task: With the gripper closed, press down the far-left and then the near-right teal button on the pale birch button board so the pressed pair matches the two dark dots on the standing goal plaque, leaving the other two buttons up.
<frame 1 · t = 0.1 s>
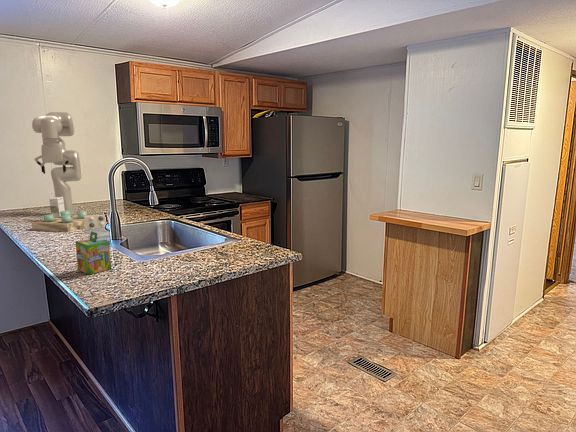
hand: (54, 173, 226), 31 cm above the worktop, tool pointing down, fingers open, 9 cm apart
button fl: (66, 219, 227), point 6 cm above the worktop, slide at 0.0 cm
goal plaque: (97, 227, 231), on the worktop
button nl: (82, 215, 238), point 5 cm above the worktop, slide at 0.0 cm
chalk box: (95, 270, 156), on the worktop
syrup box: (58, 220, 253), on the worktop
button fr: (48, 218, 230), point 6 cm above the worktop, slide at 0.0 cm
board: (66, 226, 235), on the worktop
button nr: (65, 214, 241), point 6 cm above the worktop, slide at 0.0 cm
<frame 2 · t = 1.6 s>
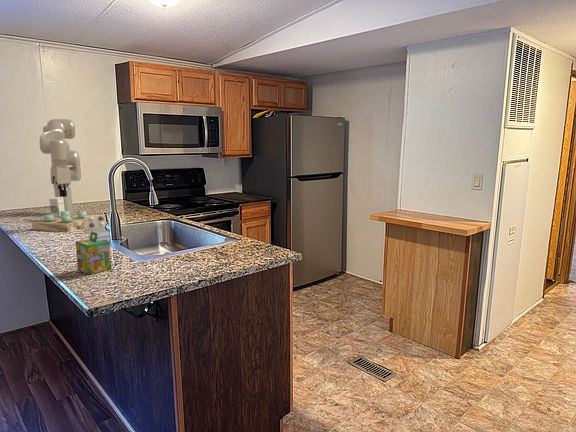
hand: (63, 196, 224), 18 cm above the worktop, tool pointing down, fingers closed
nothing on the worktop moved.
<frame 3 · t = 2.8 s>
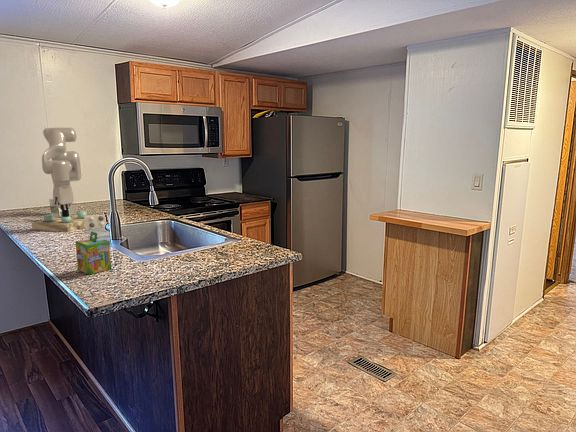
hand: (65, 216, 226), 7 cm above the worktop, tool pointing down, fingers closed
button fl: (66, 220, 227), point 5 cm above the worktop, slide at 0.3 cm, touching gripper
everything else where it was.
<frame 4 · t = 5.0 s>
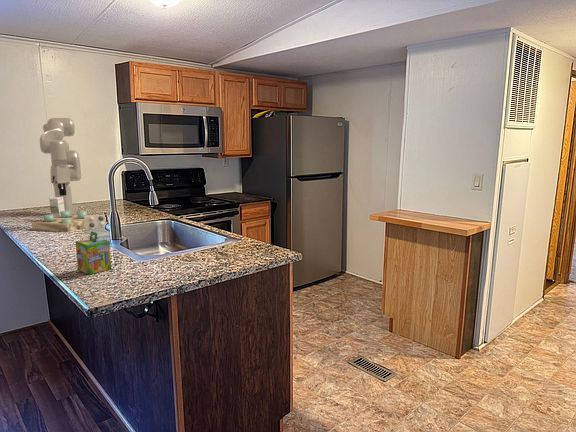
hand: (63, 195, 231), 18 cm above the worktop, tool pointing down, fingers closed
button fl: (66, 223, 227), point 3 cm above the worktop, slide at 2.2 cm
everything else where it was.
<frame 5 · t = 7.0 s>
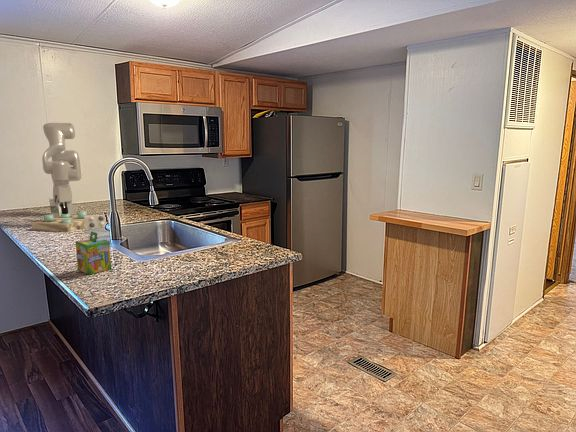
hand: (65, 213, 241), 6 cm above the worktop, tool pointing down, fingers closed
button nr: (65, 217, 242), point 4 cm above the worktop, slide at 1.4 cm, touching gripper
everything else where it was.
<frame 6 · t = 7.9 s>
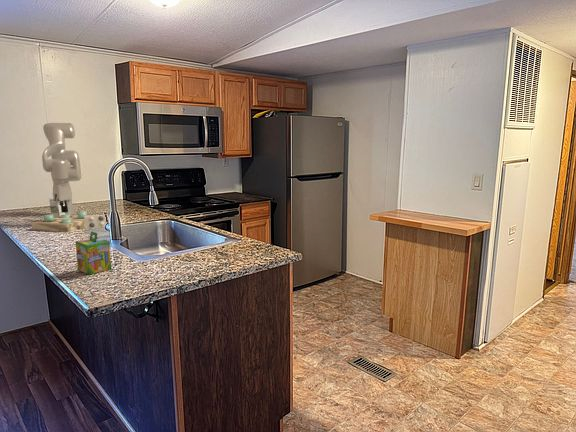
hand: (64, 212, 242), 7 cm above the worktop, tool pointing down, fingers closed
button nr: (65, 218, 242), point 3 cm above the worktop, slide at 2.2 cm
everything else where it was.
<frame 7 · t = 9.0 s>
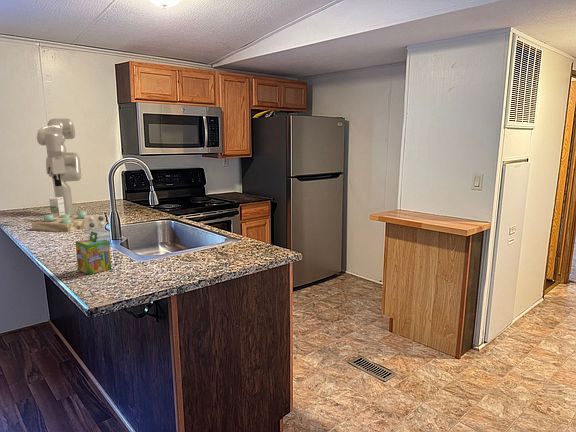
hand: (58, 185, 240), 23 cm above the worktop, tool pointing down, fingers closed
nothing on the worktop moved.
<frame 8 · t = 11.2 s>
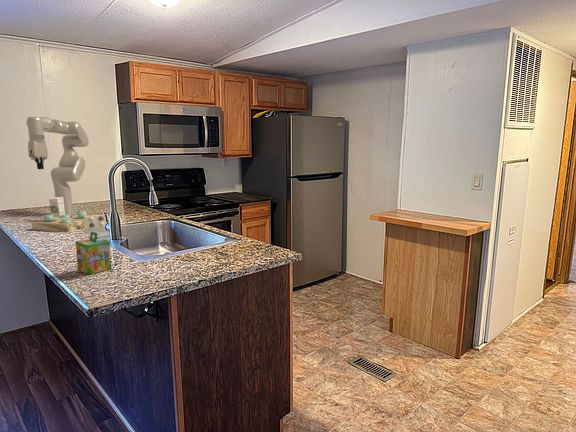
hand: (40, 169, 245), 32 cm above the worktop, tool pointing down, fingers closed
nothing on the worktop moved.
at the end: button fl slide at 2.2 cm; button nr slide at 2.2 cm; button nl slide at 0.0 cm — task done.
